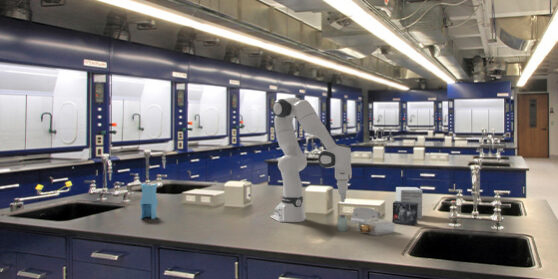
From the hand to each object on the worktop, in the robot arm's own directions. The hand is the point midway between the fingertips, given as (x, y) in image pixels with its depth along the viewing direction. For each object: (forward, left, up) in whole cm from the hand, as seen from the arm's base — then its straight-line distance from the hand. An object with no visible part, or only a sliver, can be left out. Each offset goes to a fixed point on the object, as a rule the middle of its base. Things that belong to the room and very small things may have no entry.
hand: (343, 200), depth 242 cm
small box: (+6, +42, -16) cm, 45 cm away
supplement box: (-6, +59, -16) cm, 61 cm away
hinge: (-7, +23, -16) cm, 29 cm away
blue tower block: (-86, -77, -16) cm, 117 cm away
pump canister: (0, 0, -16) cm, 16 cm away
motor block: (+12, +11, -16) cm, 23 cm away
